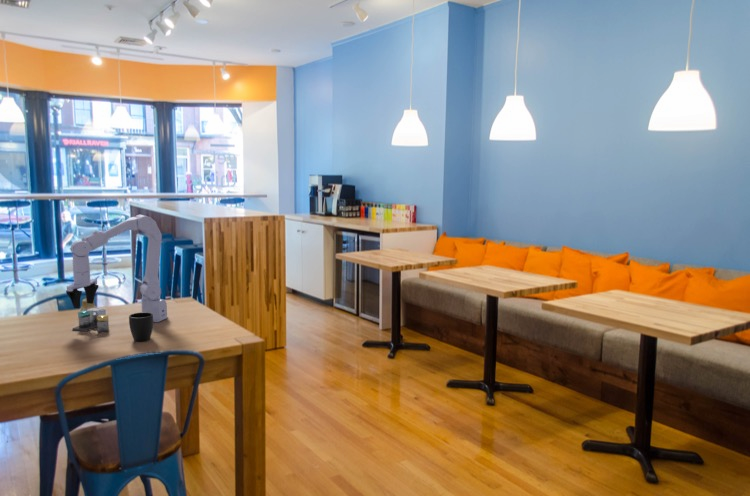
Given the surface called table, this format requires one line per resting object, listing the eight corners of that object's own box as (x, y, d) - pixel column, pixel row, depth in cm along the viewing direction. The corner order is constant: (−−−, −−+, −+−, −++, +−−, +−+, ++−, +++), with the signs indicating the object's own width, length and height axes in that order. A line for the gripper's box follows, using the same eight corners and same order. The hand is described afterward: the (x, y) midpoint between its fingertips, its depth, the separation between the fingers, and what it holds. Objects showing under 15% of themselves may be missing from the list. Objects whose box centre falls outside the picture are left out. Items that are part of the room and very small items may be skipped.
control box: (106, 323, 226) (105, 308, 225) (98, 326, 221) (97, 311, 220) (92, 322, 227) (91, 307, 226) (84, 325, 222) (83, 310, 222)
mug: (159, 333, 214) (158, 309, 213) (150, 343, 202) (149, 317, 201) (137, 333, 213) (136, 309, 212) (126, 343, 202) (125, 317, 200)
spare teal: (92, 325, 220) (91, 310, 219) (87, 328, 216) (86, 313, 215) (82, 325, 220) (81, 310, 219) (76, 328, 216) (75, 313, 215)
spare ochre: (111, 330, 217) (110, 315, 216) (104, 333, 213) (103, 318, 212) (101, 329, 218) (101, 314, 217) (94, 332, 214) (94, 317, 213)
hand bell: (102, 309, 247) (101, 274, 245) (91, 314, 239) (89, 278, 236) (85, 309, 248) (83, 274, 245) (73, 313, 240) (71, 277, 237)
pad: (96, 327, 221) (96, 325, 220) (86, 331, 215) (86, 329, 215) (83, 326, 222) (83, 324, 221) (72, 330, 216) (72, 328, 216)
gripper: (85, 267, 223) (87, 300, 225) (58, 274, 209) (61, 309, 211) (101, 268, 221) (102, 301, 223) (75, 275, 207) (77, 310, 209)
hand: (83, 305), depth 217 cm, fingers open, 7 cm apart
